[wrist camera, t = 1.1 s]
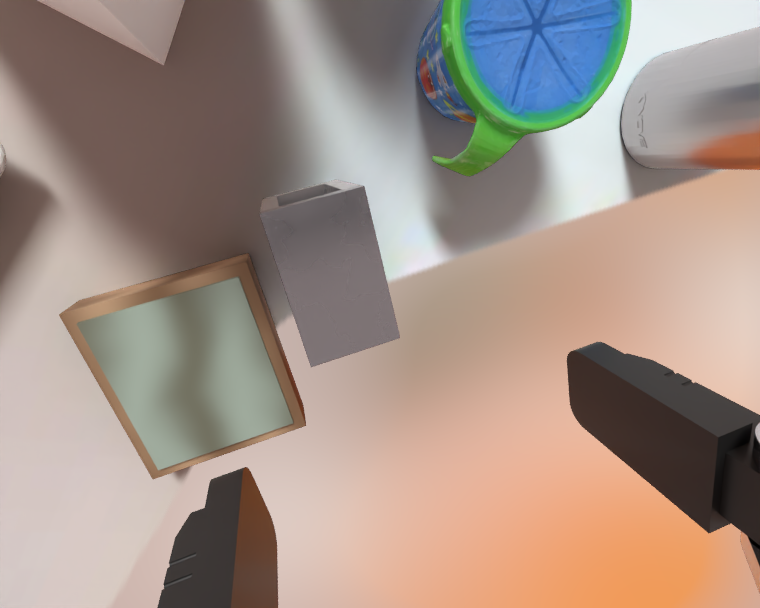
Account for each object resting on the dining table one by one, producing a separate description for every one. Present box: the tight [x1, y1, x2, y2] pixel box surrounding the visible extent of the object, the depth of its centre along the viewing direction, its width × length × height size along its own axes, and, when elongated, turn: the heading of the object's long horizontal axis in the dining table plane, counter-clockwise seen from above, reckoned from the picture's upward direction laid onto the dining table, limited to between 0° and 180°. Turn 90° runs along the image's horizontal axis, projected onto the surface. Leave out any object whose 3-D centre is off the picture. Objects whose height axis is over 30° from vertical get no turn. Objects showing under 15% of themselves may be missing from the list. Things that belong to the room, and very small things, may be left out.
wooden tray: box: [59, 253, 306, 479], centre depth 31 cm, size 12×14×3 cm
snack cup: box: [416, 0, 632, 176], centre depth 26 cm, size 16×10×10 cm
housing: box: [260, 180, 400, 367], centre depth 27 cm, size 6×9×10 cm, turn 14°
